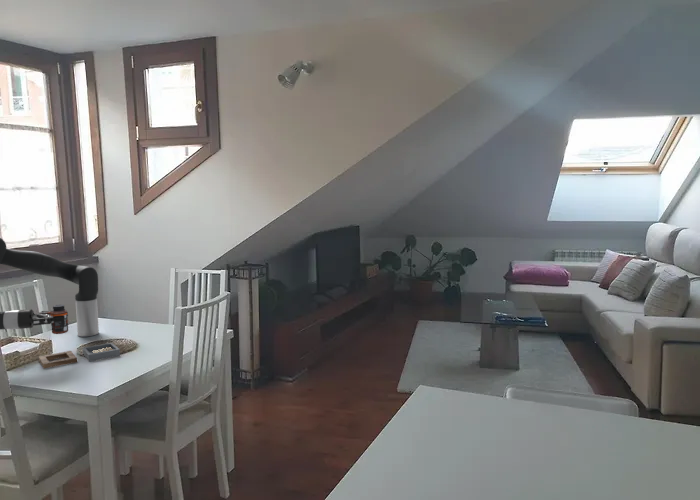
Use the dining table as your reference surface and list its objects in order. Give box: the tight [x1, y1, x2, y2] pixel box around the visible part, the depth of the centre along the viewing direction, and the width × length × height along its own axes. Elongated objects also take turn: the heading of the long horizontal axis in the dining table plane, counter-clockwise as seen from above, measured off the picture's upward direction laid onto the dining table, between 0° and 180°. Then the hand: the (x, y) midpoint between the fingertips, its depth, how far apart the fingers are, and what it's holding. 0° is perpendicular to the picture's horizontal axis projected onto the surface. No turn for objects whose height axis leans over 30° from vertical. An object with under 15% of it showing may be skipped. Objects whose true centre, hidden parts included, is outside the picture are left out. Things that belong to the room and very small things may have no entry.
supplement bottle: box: [50, 304, 69, 335], centre depth 213 cm, size 6×6×11 cm
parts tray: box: [81, 342, 121, 362], centre depth 223 cm, size 12×12×3 cm
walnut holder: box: [38, 350, 78, 369], centre depth 214 cm, size 12×12×2 cm
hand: (66, 316), depth 214 cm, fingers closed on supplement bottle, 6 cm apart
